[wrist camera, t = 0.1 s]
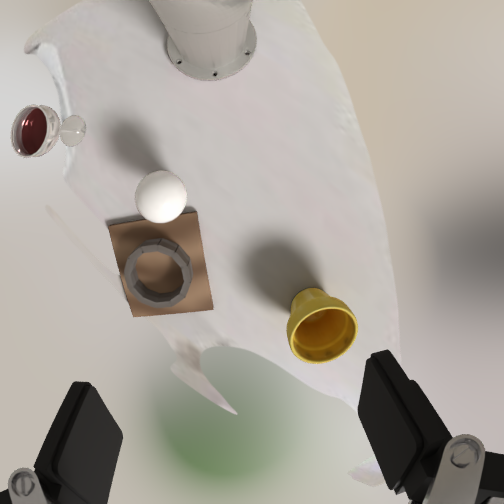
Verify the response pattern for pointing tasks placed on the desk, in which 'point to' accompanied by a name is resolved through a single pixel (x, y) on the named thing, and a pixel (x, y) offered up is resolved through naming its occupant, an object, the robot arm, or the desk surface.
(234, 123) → the desk surface
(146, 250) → the bulb holder
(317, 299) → the plant pot
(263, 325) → the desk surface
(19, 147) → the wineglass
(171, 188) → the lightbulb
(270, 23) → the desk surface
